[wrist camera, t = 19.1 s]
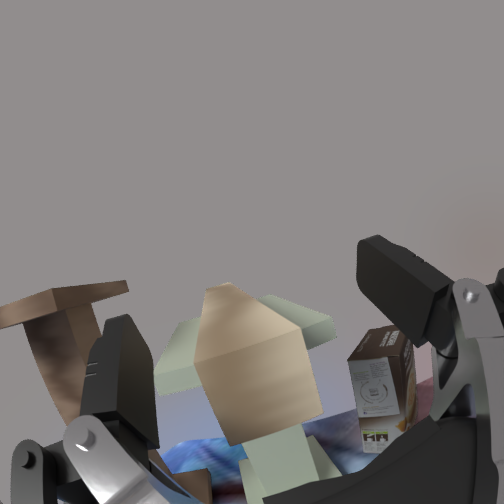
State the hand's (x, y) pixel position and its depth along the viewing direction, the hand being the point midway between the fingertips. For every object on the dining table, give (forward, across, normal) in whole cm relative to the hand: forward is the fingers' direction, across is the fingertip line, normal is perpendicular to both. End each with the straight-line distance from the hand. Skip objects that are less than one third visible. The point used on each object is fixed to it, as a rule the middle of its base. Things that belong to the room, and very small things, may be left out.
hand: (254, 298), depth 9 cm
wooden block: (+9, -1, -10) cm, 13 cm away
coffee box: (+1, +15, -34) cm, 38 cm away
